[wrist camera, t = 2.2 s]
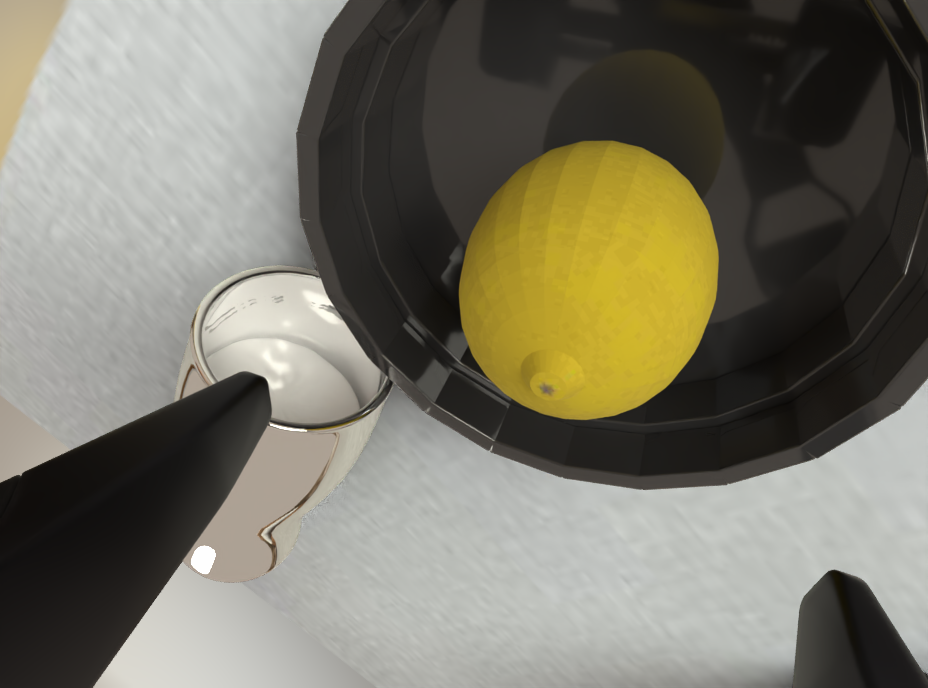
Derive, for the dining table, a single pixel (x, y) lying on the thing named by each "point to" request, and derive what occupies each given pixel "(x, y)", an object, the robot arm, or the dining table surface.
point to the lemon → (589, 280)
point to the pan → (689, 151)
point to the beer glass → (280, 410)
